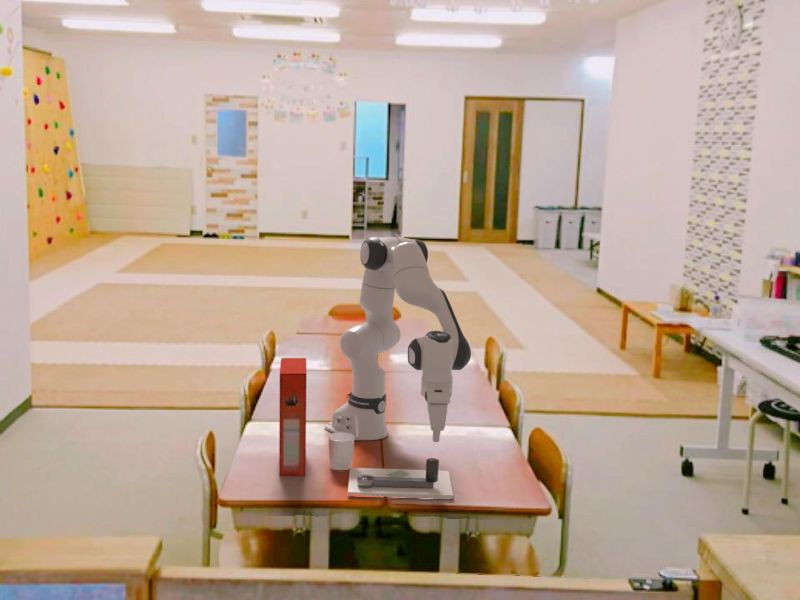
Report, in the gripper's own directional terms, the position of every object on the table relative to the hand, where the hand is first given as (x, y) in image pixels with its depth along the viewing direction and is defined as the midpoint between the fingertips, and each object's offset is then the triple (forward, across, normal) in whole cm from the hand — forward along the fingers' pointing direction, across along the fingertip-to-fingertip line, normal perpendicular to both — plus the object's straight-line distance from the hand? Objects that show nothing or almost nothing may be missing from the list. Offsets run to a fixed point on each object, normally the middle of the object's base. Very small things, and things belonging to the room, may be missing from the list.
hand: (434, 435), depth 249 cm
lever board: (+17, -4, -9) cm, 20 cm away
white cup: (+17, -17, -27) cm, 37 cm away
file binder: (+17, -18, -42) cm, 49 cm away
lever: (+15, 0, -10) cm, 18 cm away
